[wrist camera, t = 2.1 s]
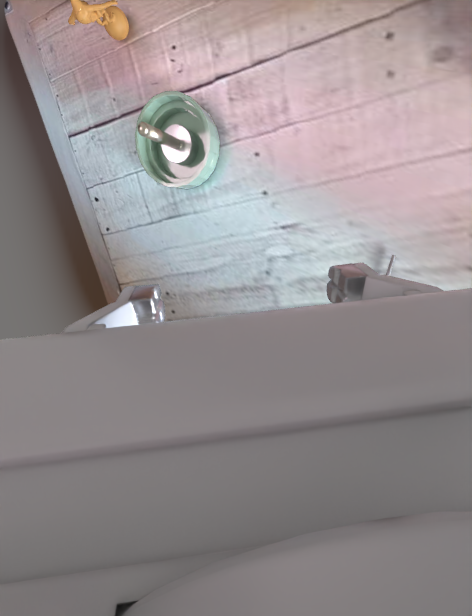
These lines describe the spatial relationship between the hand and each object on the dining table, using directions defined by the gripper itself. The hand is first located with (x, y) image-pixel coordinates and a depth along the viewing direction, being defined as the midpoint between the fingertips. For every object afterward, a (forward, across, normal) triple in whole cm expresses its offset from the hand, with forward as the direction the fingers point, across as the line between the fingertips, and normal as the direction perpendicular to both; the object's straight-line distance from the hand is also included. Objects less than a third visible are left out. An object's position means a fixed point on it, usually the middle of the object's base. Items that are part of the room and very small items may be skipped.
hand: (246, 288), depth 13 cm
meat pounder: (+48, +5, -6) cm, 48 cm away
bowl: (+48, +5, -6) cm, 49 cm away
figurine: (+55, +13, -23) cm, 61 cm away
